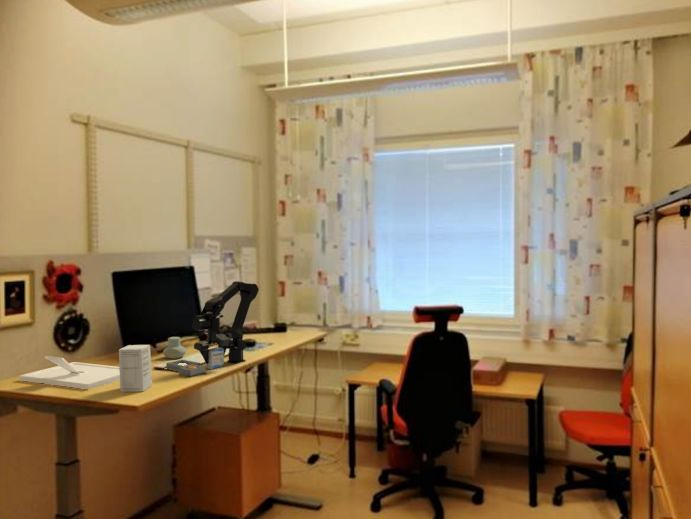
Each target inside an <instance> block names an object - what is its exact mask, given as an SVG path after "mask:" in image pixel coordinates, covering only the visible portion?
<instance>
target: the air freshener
mask: <svg viewBox="0 0 691 519" xmlns="http://www.w3.org/2000/svg"><path fill="white" fill-rule="evenodd" d="M186 353H187V349H186V348H185V347H184V346H183V345H181V337H180V336H171V337H168V338H167V346H166V347H165V348H164V349H163V352H162V354H163V356H164V357H166V358H167V359H171V360H175V359H176V358H177V359H180V358H182V357H184V356H185V355H186Z"/></svg>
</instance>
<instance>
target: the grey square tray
mask: <svg viewBox="0 0 691 519" xmlns="http://www.w3.org/2000/svg"><path fill="white" fill-rule="evenodd" d="M179 363H186V364H187V365H184V366H182V365H178V364H179ZM190 365H199V366H203V365H201V362H197V361H193V360H187V359H179V360H174V361H170V362H166V366H163V367H164V368H167V369H171V370H173V372H176V371H177V372H176V373H179V368H181V367H185V366H190ZM167 369H166V370H167ZM171 370H170V371H171Z"/></svg>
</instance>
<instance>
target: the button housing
mask: <svg viewBox="0 0 691 519" xmlns="http://www.w3.org/2000/svg"><path fill="white" fill-rule="evenodd" d="M190 366H197V368H193V369H189V368H188V367H189V366H185V367H181V368H179V372H178V375H179V376H182V377H188V378H193V377H197V376H202V375H206V373H207V372H206V371H207V369H206V367H205V365H202V366H199V365H190Z"/></svg>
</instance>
